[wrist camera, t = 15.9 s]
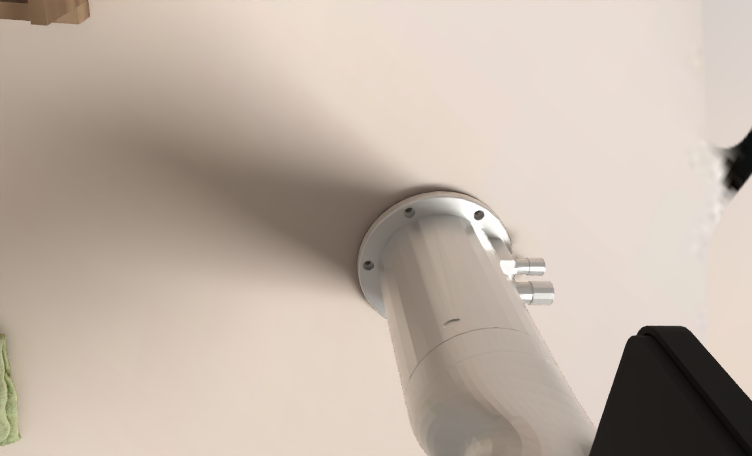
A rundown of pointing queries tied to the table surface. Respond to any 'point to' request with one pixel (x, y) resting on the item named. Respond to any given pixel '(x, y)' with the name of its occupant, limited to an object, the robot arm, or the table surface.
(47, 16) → the rack
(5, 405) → the washcloth
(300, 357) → the table surface
